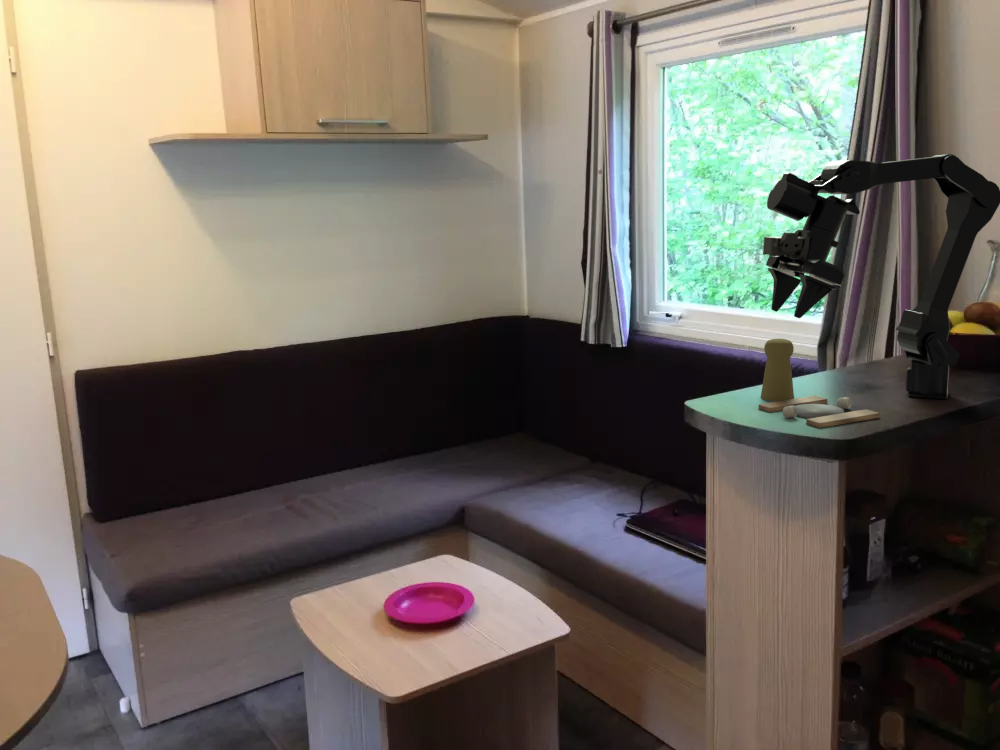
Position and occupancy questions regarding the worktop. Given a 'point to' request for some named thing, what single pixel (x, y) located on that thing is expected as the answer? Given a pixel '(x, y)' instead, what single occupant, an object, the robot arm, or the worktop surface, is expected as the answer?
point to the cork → (778, 371)
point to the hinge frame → (819, 411)
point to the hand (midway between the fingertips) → (785, 314)
